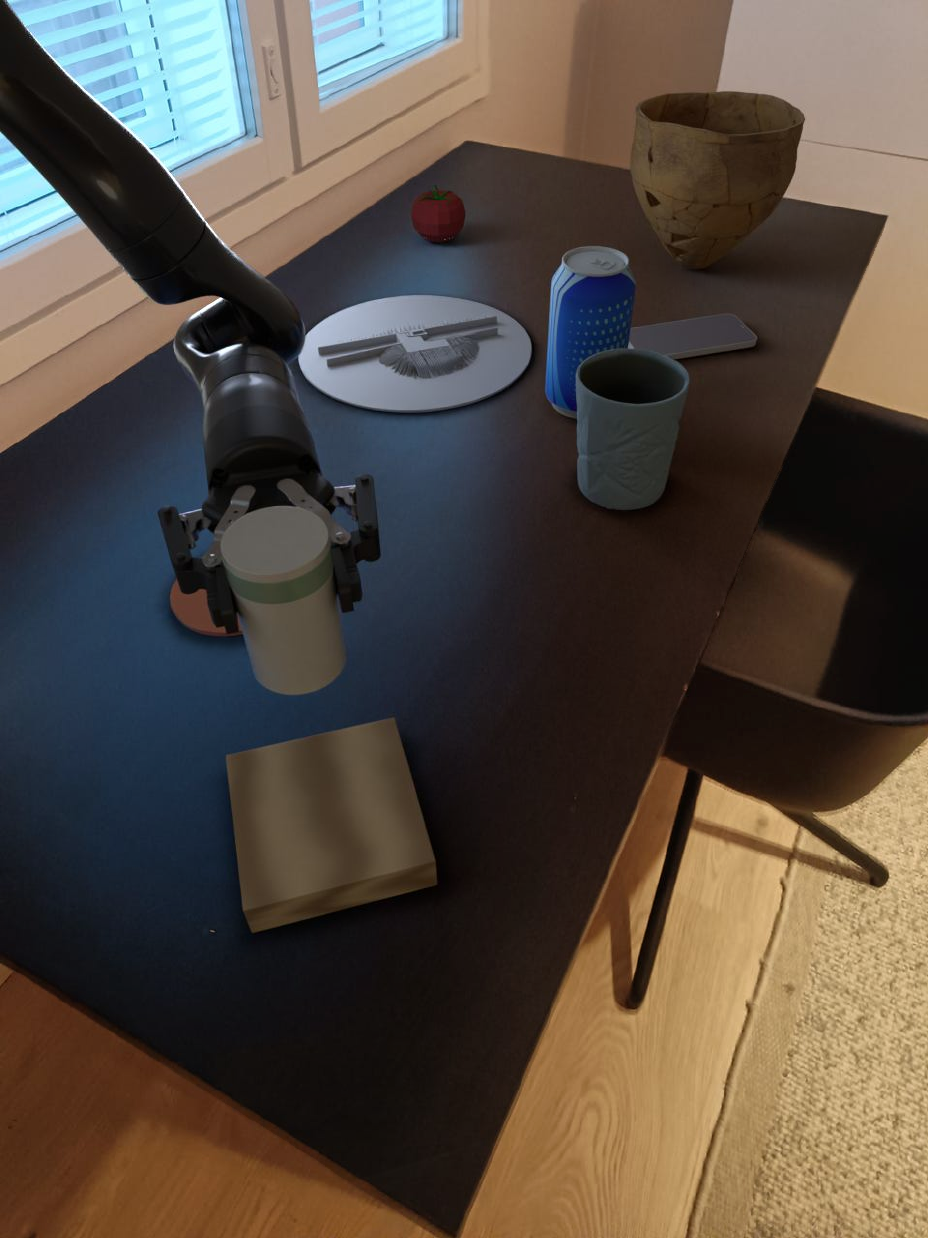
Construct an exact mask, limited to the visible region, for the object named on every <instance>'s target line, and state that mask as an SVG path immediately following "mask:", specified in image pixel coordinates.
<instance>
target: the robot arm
mask: <svg viewBox="0 0 928 1238" xmlns="http://www.w3.org/2000/svg"><path fill="white" fill-rule="evenodd" d="M0 133H1V134H2V135H3V137H4V138H5V139H7V140H8V141H9V143H10V144H11V145H12V146H13V147H14V148H15V149H16V150H17V151H18V152H19V153H20V154H21V155H22V156H23V157H24V159H26V160H27V162H28V163H30V164H31V166H32V167H33V168H34V169H35V170H36V171H37V172H38V173H39V174H40V175H41V176H42V177H43V178H44V180H45V181H46V182H47V183H48V184H49V185H50V186H51V187H52V188H53V189H54V190H55V192H56V193H57V194H58V195H59V197H60V198H62V200H63V201H64V202H65V203H66V204H67V206H69V208H70V209H71V210H72V211H73V212H74V213H75V214H76V216H77V217H78V218H79V219H80V220H81V221H82V222H83V224H84V225H85V226H86V228H88V230H89V231H90V232H91V233H92V234H93V236H94V237H95V238H96V239H97V240H98V241H99V243H100V244H101V245H102V247H104V248H105V250H106V251H107V252H108V254H109V255H110V256H111V257H112V258H113V259H114V261H116V263H117V264H118V265H119V266H120V267H121V268H122V270H123V271H124V272H125V274H126V275H127V276H129V278H130V279H131V280H132V281H133V282H134V283H135V285H136V286H137V287H138V288H139V290H141V292H142V293H143V294H144V295H145V296H146V297H148V298H149V299H150V300H151V301H152V302H153V303H156V304H158V305H162V306H172V305H178V304H182V303H185V302H188V301H189V302H190V301H192V300H196V299H199V298H204V297H217V298H218V299H215V301H213V302H211V303H210V304H208V305H206V306H205V307H203V308H202V309H201V310H198V311H196V312H195V313H193V314H192V315H191V316H189V317H187V318H186V319H185V320H184V321H183V322H182V323H181V324H180V325H179V327H178V329H177V330H176V332H175V335H174V338H173V351H174V356H175V358H176V360H177V363H178V364H179V366H180V367H181V369H182V370H183V372H184V374H185V375H186V377H187V378H188V379H189V380H190V381H191V382H192V384H193V385H194V386H195V387H196V388H197V390H198V392H199V395H200V396H201V401H202V408H203V409H202V410H203V420H202V428H201V429H202V430H201V431H202V432H201V433H202V446H203V455H204V465H205V474H206V483H207V492H208V494H207V497H206V498H205V499H204V501H203V502H202V505H201V508H200V509H195V510H192V511H187V512H183V513H179V509H178V507H177V506H175V505H165V506H162V507H160V508H159V509H158V510H157V516H158V520H159V523H160V527H161V530H162V534H163V537H164V541H165V546H166V548H167V552H168V555H169V559H170V562H171V565H172V569H173V572H174V575H175V578H176V579H177V581H178V584H179V588H180V591H181V592H182V593H184V594H193V593H195V592H197V591H198V590H199V589H204V590H206V593H207V605H208V608H209V612H210V615H211V618H212V622H213V624H214V625H215V626H216V627H217V628H218V627H224V626H225V630H226V633H227V635H228V634H233V633H239V625H238V616H237V610H236V606H235V602H234V598H233V595H232V591H231V587H230V584H229V583H228V579H227V576H226V572H225V568H224V564H223V561H222V553H221V548H220V544H221V539H222V536H223V534H224V533H225V531H226V530H227V528H228V527H229V526H230V525H231V524H232V523H233V522H235V521H236V520H237V519H239V518H240V517H242V516H244V515H246V514H248V513H250V512H253V511H255V510H259V509H262V508H267V507H273V506H292V507H298V508H302V509H306V510H308V511H311V512H313V513H314V514H316V515H317V516H319V517H320V518H321V519H322V520H323V521H324V523H325V524H326V526H327V529H328V533H329V537H330V541H331V547H332V554H333V560H334V565H333V567H334V574H335V581H336V587H337V594H338V599H339V606H340V611H341V614H346V613H351V612H355V606H354V603H357V602H361V601H362V597H363V588H362V581H361V575H360V571H359V567H358V563H360V562H362V561H365V562H367V563H372V562H373V563H374V562H376V561H379V559H381V557H382V553H381V542H380V531H379V521H378V519H379V518H378V509H377V500H376V499H377V497H376V489H375V488H376V487H375V481H374V480H375V479H374V477H373V476H372V475H371V474H368V473H362V474H360V475H357V476H356V477H355V479H354V485H344V486H334V485H333V483H332V482H330V481H329V480H328V479H326V478H325V477H324V475H323V473H322V468H321V465H320V461H319V457H318V453H317V449H316V445H315V441H314V438H313V435H312V430H311V427H310V423H309V420H308V417H307V414H306V412H305V410H304V408H303V406H302V404H301V402H300V399H299V395H298V391H297V386H296V382H295V378H294V375H293V373H292V370H291V369H290V367H289V364H290V363H292V362H293V361H295V360H296V359H297V358H298V356H299V355H300V354H301V352H302V350H303V347H304V344H305V337H306V328H305V324H304V321H303V318H302V316H301V313H300V312H299V310H298V308H297V307H296V304H294V303H293V301H292V300H291V299H290V298H289V296H287V295H286V294H285V293H284V291H282V290H281V289H280V288H279V287H277V285H275V284H274V283H273V282H272V281H270V280H269V279H268V278H267V277H266V276H264V275H263V274H261V273H260V272H259V271H257V270H256V269H255V268H254V267H252V266H250V265H249V264H248V263H247V262H246V261H245V260H243V259H242V258H241V257H239V255H238V254H236V253H235V252H234V251H233V250H232V249H231V248H230V247H229V246H228V245H227V244H226V243H225V242H224V241H223V240H222V239H221V238H220V237H219V236H218V235H217V233H216V232H215V231H214V230H213V228H211V227H210V225H209V224H208V222H207V221H206V220H205V218H204V217H203V215H202V214H201V213H200V211H199V210H198V209H197V207H196V206H195V205H194V203H193V202H192V201H191V199H190V198H189V196H188V195H187V194H186V193H185V190H184V189H183V188H182V187H181V186H180V184H179V182H178V181H177V180H176V179H175V177H174V176H173V175H172V174H171V172H170V171H169V170H168V169H167V167H166V166H165V165H164V164H163V162H162V161H161V160H160V158H158V157H157V155H155V153H154V152H153V151H152V150H151V149H150V148H149V147H148V146H147V145H146V144H145V143H144V142H143V141H142V140H141V139H140V138H139V137H138V136H137V135H136V134H135V133H134V132H133V131H132V130H131V129H130V128H128V127H127V126H126V125H125V124H124V123H122V121H120V120H119V119H118V118H117V117H116V116H115V115H114V114H113V113H112V112H111V111H109V110H108V109H107V107H105V106H104V105H103V104H101V103H100V102H99V101H98V100H97V99H96V98H94V96H93V95H91V94H90V93H89V92H88V91H87V90H86V89H84V88H83V86H81V85H80V84H79V82H77V81H76V80H75V79H74V77H72V76H71V75H70V74H69V73H68V72H67V71H66V70H65V69H64V68H63V67H62V66H61V65H60V64H59V63H58V62H57V61H56V60H55V58H54V57H52V55H51V54H49V52H48V51H47V50H46V49H45V48H44V47H43V46H42V44H41V43H40V42H39V41H38V39H36V37H35V35H33V34H32V32H31V31H30V30H29V29H28V28H27V26H26V25H25V23H24V22H23V21H22V20H21V18H20V17H19V16H18V14H17V13H16V12H15V10H14V9H13V7H12V6H11V4H10V3H9V2H8V0H0ZM336 508H342V509H344V510H345V512H346V514H347V515H349V516H351V520H352V521H354V522H357V529H355V530H353V531H350V532H348V531H347V530H346V528H344V527H343V526H341V525H340V524H339V523H338V522H336V521H335V520H334V519H333V517H332V515H333V514H334V512H335V510H336ZM206 529H207V530H208V531H209V532H210V533H211V534H213V540H212V543H211V544H210V546H209V547H208V549H207V551H206V552H205V554H204V556H202V557H203V558H202V557H193V555H192V553H191V550H194V549H196V547H197V545H196V542H198V541H199V538H200V533H201V532H202V531H204V530H206Z"/></svg>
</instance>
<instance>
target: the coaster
mask: <svg viewBox="0 0 928 1238" xmlns="http://www.w3.org/2000/svg"><path fill="white" fill-rule="evenodd" d="M203 557H204V556H202V557H201V558H203ZM169 601H170V607H171V610H172V612H173V614H174V616H175V617H176V620H178V622H179V623H181V624H182V625H183V626H184V627H186V628H187V629H189V630H191V631H193V632H195V633H197V634H201V635H205V636H211V637H236V636H243V633H242V629H241V625H240V621H239V617H238V625H239V633H233V634H228V635H227V633H226V630H225V626H224V627H218V628H217V627H216V626H215V625H214V624H213V622H212V618H211V615H210V612H209V608H208V605H207V593H206V590H204V589H199V590H198V591H197V592H195V593H193V594H184V593H182V592H181V591H180V588H179V584H178V581H177V578H176V579H175V580H174V582H173V583H172V587H171V589H170V595H169ZM237 616H238V614H237Z"/></svg>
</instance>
